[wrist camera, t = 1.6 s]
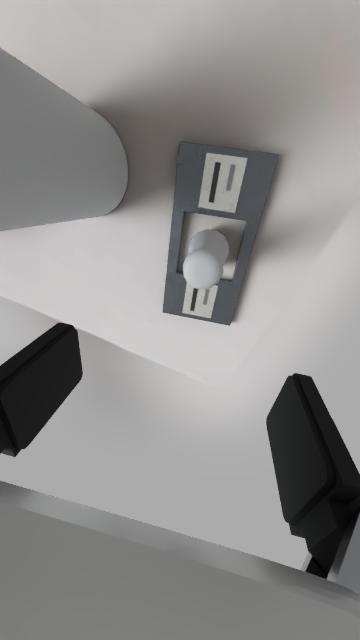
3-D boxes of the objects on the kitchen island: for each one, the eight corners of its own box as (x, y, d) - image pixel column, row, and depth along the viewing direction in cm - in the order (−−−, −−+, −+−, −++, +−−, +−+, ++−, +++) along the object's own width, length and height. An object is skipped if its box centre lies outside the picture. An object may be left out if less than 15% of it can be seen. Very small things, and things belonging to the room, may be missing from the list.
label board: (181, 143, 28) (179, 141, 27) (276, 156, 27) (279, 153, 26) (164, 309, 40) (162, 312, 39) (229, 322, 39) (229, 326, 38)
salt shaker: (237, 242, 32) (243, 266, 21) (213, 273, 35) (208, 308, 24) (204, 218, 32) (194, 230, 20) (183, 252, 34) (164, 278, 23)
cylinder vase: (29, 141, 31) (-423, 9, 9) (98, 85, 27) (-435, -394, 5) (80, 229, 36) (-140, 278, 14) (145, 193, 31) (-26, 185, 10)
